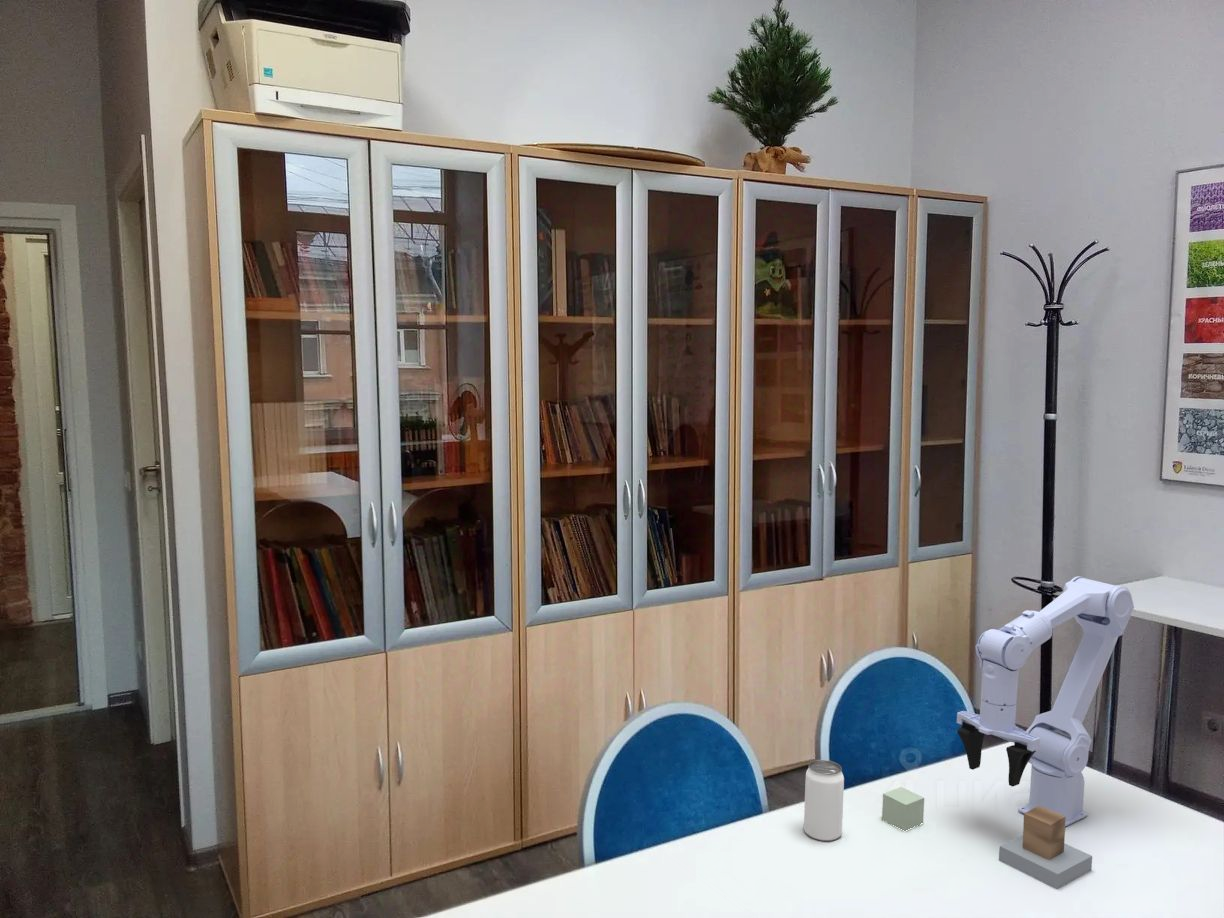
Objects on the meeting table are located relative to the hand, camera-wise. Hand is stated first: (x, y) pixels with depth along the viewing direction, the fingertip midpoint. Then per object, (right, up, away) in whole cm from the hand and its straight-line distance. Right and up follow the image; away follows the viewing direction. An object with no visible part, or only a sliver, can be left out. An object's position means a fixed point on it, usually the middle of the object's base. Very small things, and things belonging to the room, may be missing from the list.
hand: (993, 776), depth 158 cm
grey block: (+4, -12, -9) cm, 16 cm away
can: (-30, -10, 0) cm, 31 cm away
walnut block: (+4, -9, -9) cm, 13 cm away
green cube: (-14, -10, +5) cm, 18 cm away
